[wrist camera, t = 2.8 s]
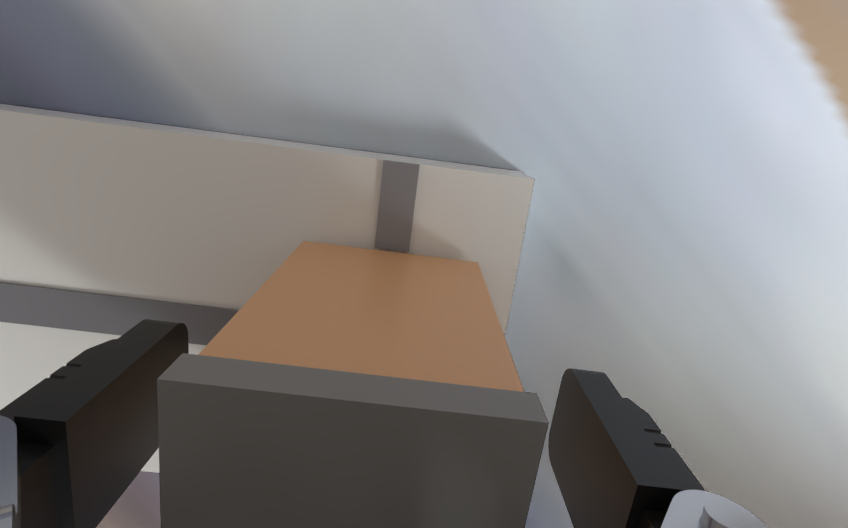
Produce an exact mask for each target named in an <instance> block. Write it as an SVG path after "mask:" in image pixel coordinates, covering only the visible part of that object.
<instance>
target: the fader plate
mask: <svg viewBox="0 0 848 528" xmlns="http://www.w3.org/2000/svg"><path fill="white" fill-rule="evenodd" d="M534 180H535V179H533V178H532V177H530V176H529V175H527V174H525V173H524V172H522V171H514V170H506V169H498V168H491V167H483V166H475V165H468V164H460V163H452V162H445V161H437V160H429V159H422V158H414V157H406V156H398V155H391V154H383V153H375V152H368V151H360V150H352V149H345V148H337V147H329V146H321V145H314V144H306V143H298V142H291V141H283V140H275V139H268V138H260V137H252V136H245V135H237V134H229V133H221V132H214V131H206V130H198V129H191V128H183V127H175V126H168V125H160V124H152V123H145V122H137V121H129V120H121V119H114V118H106V117H98V116H91V115H83V114H75V113H68V112H60V111H52V110H44V109H37V108H29V107H21V106H14V105H6V104H0V410H1V409H3V408H4V407H5V406H7V405H8V404H10V403H11V402H13V401H14V400H15V399H17V398H18V397H20V396H21V395H22V394H24V393H25V392H27V391H28V390H29V389H31V388H32V387H34V386H35V385H37V384H38V383H39V382H41V381H42V380H44V379H45V378H50V375H51V374H52V373H54V372H55V371H56V370H58V369H59V368H61V367H62V366H66V365H67V363H68V362H69V361H71V360H72V359H73V358H75V357H76V356H78V355H79V354H80V353H82V352H83V351H85V350H86V349H89V348H91V347H94V346H96V345H99V344H102V343H104V342H107V341H109V340H112V339H118V338H119V337H121V336H122V335H123V334H125V333H126V332H127V331H129V330H130V329H131V328H133V327H134V326H135V325H137V324H138V323H139V322H141V321H142V320H144V319H152V320H160V321H169V322H177V323H183V324H185V325H186V327H187V330H188V345H189V354H195V355H198V354H199V353H200V352H201V351H202V350H203V349H204V348H205V347H206V346H207V344H208V343H209V342H210V341H211V340H212V339H213V338H214V337H215V336H216V335H217V334H218V333H219V332H220V330H221V329H222V328H223V327H224V326H225V325H226V324H227V323H228V322H229V321H230V320H231V319H232V317H233V316H234V315H235V314H236V313H237V312H238V311H239V310H240V309H241V308H242V307H243V306H244V305H245V303H246V302H247V301H248V300H249V299H250V298H251V297H252V296H253V295H254V294H255V293H256V292H257V290H258V289H259V288H260V287H261V286H262V285H263V284H264V283H265V282H266V281H267V280H268V279H269V278H270V276H271V275H272V274H273V273H274V272H275V271H276V270H277V269H278V268H279V267H280V266H281V265H282V263H283V262H284V261H285V260H286V259H287V258H288V257H289V256H290V255H291V254H292V253H293V252H294V251H295V249H296V248H297V247H298V246H299V245H300V244H301V243H302V242H303V241H308V242H317V243H325V244H333V245H341V246H349V247H357V248H365V249H374V250H382V251H390V252H398V253H406V254H414V255H422V256H430V257H439V258H447V259H455V260H463V261H471V262H478V264H479V267H480V269H481V272H482V275H483V278H484V281H485V283H486V286H487V289H488V292H489V295H490V297H491V300H492V303H493V306H494V309H495V311H496V314H497V317H498V320H499V323H500V325H501V328H502V331H503V334H504V337H505V333H506V328H507V322H508V317H509V312H510V307H511V301H512V296H513V291H514V285H515V280H516V275H517V270H518V264H519V259H520V254H521V248H522V243H523V238H524V233H525V227H526V222H527V217H528V212H529V206H530V201H531V196H532V190H533V185H534ZM141 471H147V472H157V473H159V448H158V449H157V450H156V452H155V453H154V454H153V455H152V457H151V458H150V459H149V461H148V462H147V463H146V464H145V466H144V467H143V468H142V469H141Z"/></svg>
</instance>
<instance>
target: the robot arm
mask: <svg viewBox="0 0 848 528" xmlns="http://www.w3.org/2000/svg"><path fill="white" fill-rule="evenodd" d="M182 353H186V354H189V345H188V330H187V327H186V325H185V324H183V323H177V322H169V321H160V320H152V319H144V320H142V321H141V322H139V323H138V324H137V325H135V326H134V327H133V328H131V329H130V330H129V331H127V332H126V333H125V334H123V335H122V336H121V337H119V338H118V339H112V340H109V341H107V342H104V343H102V344H99V345H96V346H94V347H91V348H89V349H86V350H85V351H83V352H82V353H80V354H79V355H78V356H76V357H75V358H73V359H72V360H71V361H69V362H68V363H67V365H66V366H62V367H61V368H59V369H58V370H56V371H55V372H54V373H52V374H51V375H50V378H45V379H44V380H42V381H41V382H39V383H38V384H37V385H35V386H34V387H32V388H31V389H29V390H28V391H27V392H25V393H24V394H22V395H21V396H20V397H18V398H17V399H15V400H14V401H13V402H11V403H10V404H8V405H7V406H5V407H4V408H3V409H1V410H0V528H96V527H97V525H98V524H99V523H100V522H101V520H102V519H103V518H104V516H105V515H106V514H107V513H108V511H109V510H110V509H111V508H112V506H113V505H114V504H115V502H116V501H117V500H118V499H119V497H120V496H121V495H122V494H123V492H124V491H125V490H126V488H127V487H128V486H129V485H130V483H131V482H132V481H133V480H134V478H135V477H136V476H137V475H138V473H139V472H140V471H141V469H142V468H143V467H144V466H145V464H146V463H147V462H148V461H149V459H150V458H151V457H152V455H153V454H154V453H155V452H156V450H157V449H158V448H159V437H158V398H157V379H158V378H159V377H160V376H161V375H162V374H163V373H164V372H165V371H166V370H167V369H168V368H169V367H170V366H171V364H172V363H173V362H174V361H175V360H176V359H177V358H178V357H179V356H180V355H181V354H182ZM549 458H550V462H551V465H552V468H553V471H554V474H555V476H556V479H557V482H558V485H559V487H560V490H561V493H562V496H563V499H564V501H565V504H566V507H567V510H568V512H569V515H570V518H571V521H572V524H573V526H574V528H768V527H767V526H766V525H765V524H764V523H763V522H762V521H761V520H760V519H759V518H758V517H757V516H755V515H754V514H753V513H751V512H750V511H749V510H747V509H746V508H744V507H742V506H741V505H739V504H738V503H736V502H734V501H732V500H730V499H727V498H725V497H723V496H720V495H717V494H714V493H711V492H707V491H705V489H704V488H703V487H702V485H701V484H700V483H699V481H698V480H697V479H696V477H695V476H694V475H693V473H692V472H691V471H690V469H689V468H688V467H687V465H686V464H685V462H684V461H683V460H682V458H681V457H680V456H679V454H678V453H677V452H676V450H675V449H674V448H671V444H670V442H669V441H668V440H667V438H666V437H665V436H664V434H661V430H660V429H659V427H658V426H657V425H656V423H655V422H654V421H653V419H652V418H651V417H650V415H649V414H648V413H647V412H645V411H644V410H643V409H641V408H640V407H639V406H637V405H636V404H635V403H633V402H632V401H631V400H629V399H628V398H622V397H621V396H620V394H619V393H618V391H617V390H616V388H615V387H614V386H613V384H612V383H611V381H610V380H609V378H608V377H607V375H606V374H605V373H603V372H595V371H586V370H577V369H567V370H566V371H565V372H564V374H563V377H562V381H561V385H560V389H559V394H558V398H557V402H556V407H555V411H554V415H553V420H552V424H551V428H550V433H549Z"/></svg>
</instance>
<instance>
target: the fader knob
mask: <svg viewBox="0 0 848 528" xmlns="http://www.w3.org/2000/svg"><path fill="white" fill-rule="evenodd" d="M157 398H158V437H159V475H160V513H161V528H525V524H526V520H527V515H528V511H529V506H530V502H531V498H532V493H533V489H534V485H535V480H536V476H537V471H538V467H539V463H540V458H541V454H542V450H543V445H544V441H545V436H546V432H547V428H548V420H547V418H546V415H545V413H544V410H543V408H542V405H541V403H540V400H539V398H538V395H537V393H529V392H524V390H523V387H522V384H521V381H520V379H519V376H518V373H517V370H516V367H515V365H514V362H513V359H512V356H511V353H510V351H509V348H508V345H507V342H506V339H505V337H504V334H503V331H502V328H501V325H500V323H499V320H498V317H497V314H496V311H495V309H494V306H493V303H492V300H491V297H490V295H489V292H488V289H487V286H486V283H485V281H484V278H483V275H482V272H481V269H480V267H479V264H478V262H471V261H463V260H455V259H447V258H439V257H430V256H422V255H414V254H406V253H398V252H390V251H382V250H374V249H365V248H357V247H349V246H341V245H333V244H325V243H317V242H308V241H303V242H302V243H301V244H300V245H299V246H298V247H297V248H296V249H295V251H294V252H293V253H292V254H291V255H290V256H289V257H288V258H287V259H286V260H285V261H284V262H283V263H282V265H281V266H280V267H279V268H278V269H277V270H276V271H275V272H274V273H273V274H272V275H271V276H270V278H269V279H268V280H267V281H266V282H265V283H264V284H263V285H262V286H261V287H260V288H259V289H258V290H257V292H256V293H255V294H254V295H253V296H252V297H251V298H250V299H249V300H248V301H247V302H246V303H245V305H244V306H243V307H242V308H241V309H240V310H239V311H238V312H237V313H236V314H235V315H234V316H233V317H232V319H231V320H230V321H229V322H228V323H227V324H226V325H225V326H224V327H223V328H222V329H221V330H220V332H219V333H218V334H217V335H216V336H215V337H214V338H213V339H212V340H211V341H210V342H209V343H208V344H207V346H206V347H205V348H204V349H203V350H202V351H201V352H200V353H199V354H198V355H195V354H186V353H182V354H181V355H180V356H179V357H178V358H177V359H176V360H175V361H174V362H173V363H172V364H171V366H170V367H169V368H168V369H167V370H166V371H165V372H164V373H163V374H162V375H161V376H160V377H159V378H158V379H157Z"/></svg>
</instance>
